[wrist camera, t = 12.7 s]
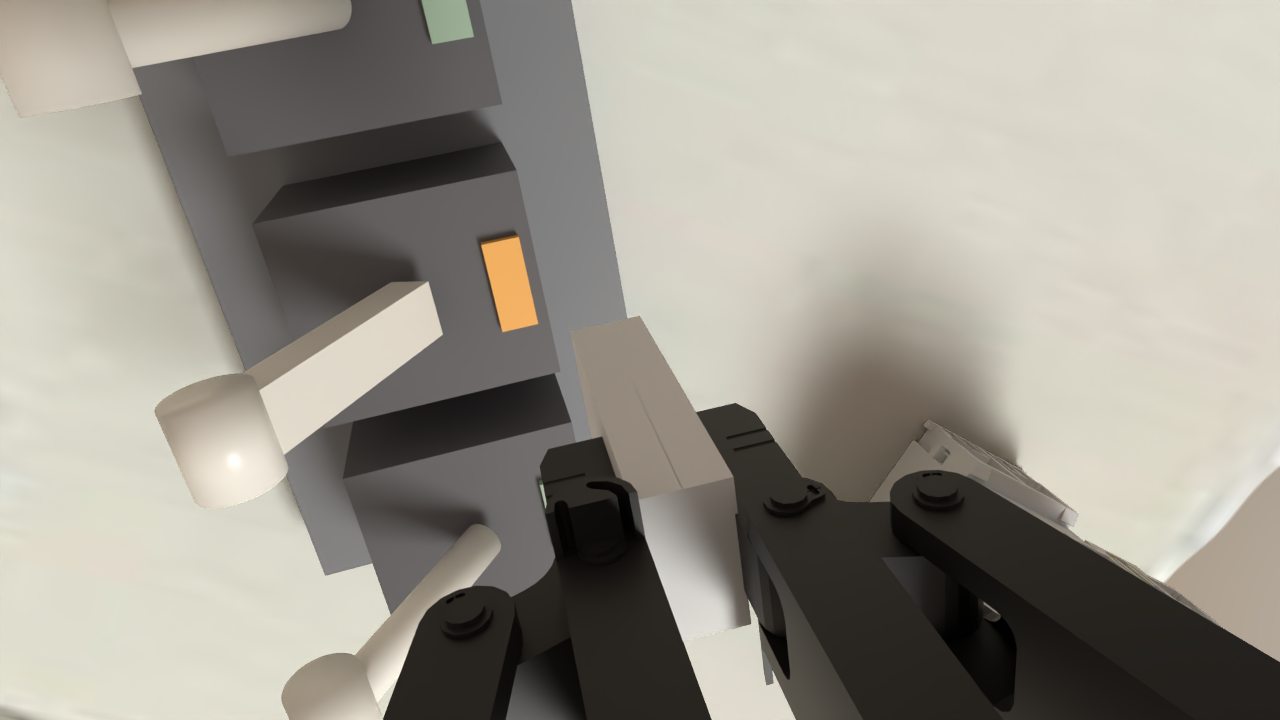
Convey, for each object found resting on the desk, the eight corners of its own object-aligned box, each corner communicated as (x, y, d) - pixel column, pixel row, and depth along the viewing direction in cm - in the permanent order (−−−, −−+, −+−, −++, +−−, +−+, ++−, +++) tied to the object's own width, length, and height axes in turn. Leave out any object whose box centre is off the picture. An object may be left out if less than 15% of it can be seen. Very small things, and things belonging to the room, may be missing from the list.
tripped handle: (436, 271, 26) (202, 421, 18) (455, 343, 27) (241, 512, 19) (378, 273, 27) (133, 416, 19) (399, 342, 28) (173, 504, 20)
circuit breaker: (780, 626, 48) (918, 868, 35) (927, 419, 45) (1142, 596, 31) (877, 662, 51) (1039, 900, 37) (1022, 470, 48) (1257, 653, 34)
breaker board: (531, -150, 31) (633, -302, 16) (642, 456, 42) (767, 720, 26) (99, -85, 29) (-275, -187, 14) (332, 536, 40) (271, 874, 24)
